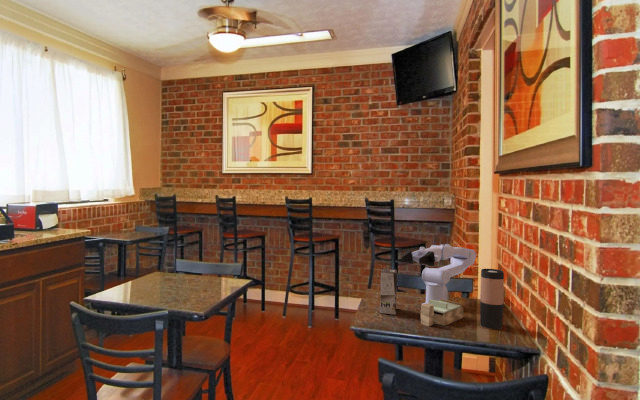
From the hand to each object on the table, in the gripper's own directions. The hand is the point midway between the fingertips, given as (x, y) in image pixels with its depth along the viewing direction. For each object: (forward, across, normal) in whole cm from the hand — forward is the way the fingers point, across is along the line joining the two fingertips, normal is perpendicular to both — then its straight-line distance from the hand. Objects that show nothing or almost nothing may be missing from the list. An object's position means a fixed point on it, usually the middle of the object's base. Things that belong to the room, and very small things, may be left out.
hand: (411, 260), depth 146 cm
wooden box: (-4, +10, +22) cm, 24 cm away
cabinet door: (-4, +10, +18) cm, 21 cm away
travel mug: (-10, +26, +23) cm, 36 cm away
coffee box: (+3, -10, +21) cm, 23 cm away
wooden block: (+6, +9, +21) cm, 24 cm away
